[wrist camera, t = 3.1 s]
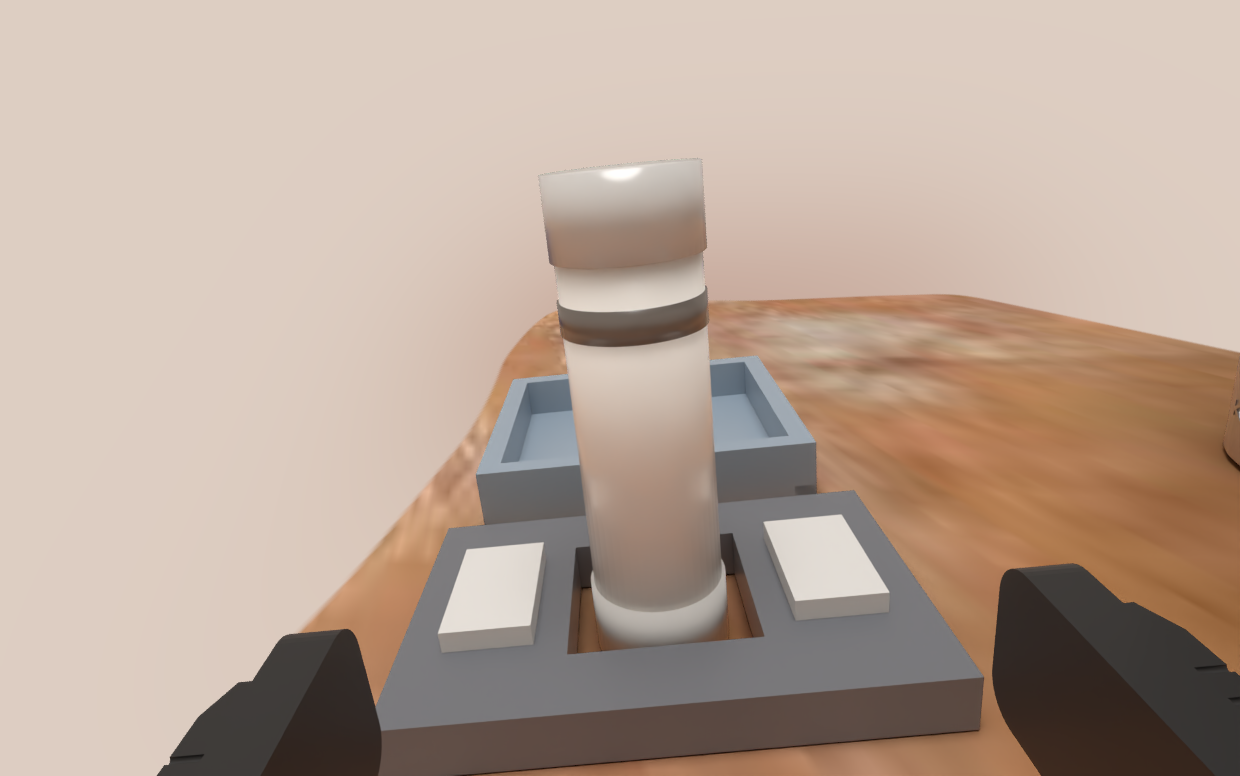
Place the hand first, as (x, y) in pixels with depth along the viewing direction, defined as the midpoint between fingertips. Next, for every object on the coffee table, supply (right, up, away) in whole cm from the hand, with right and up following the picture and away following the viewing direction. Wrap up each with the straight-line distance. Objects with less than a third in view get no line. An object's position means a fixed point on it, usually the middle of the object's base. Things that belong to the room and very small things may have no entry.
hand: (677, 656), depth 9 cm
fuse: (+1, -4, +12) cm, 12 cm away
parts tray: (0, 0, +23) cm, 23 cm away
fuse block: (+1, -4, +12) cm, 12 cm away
